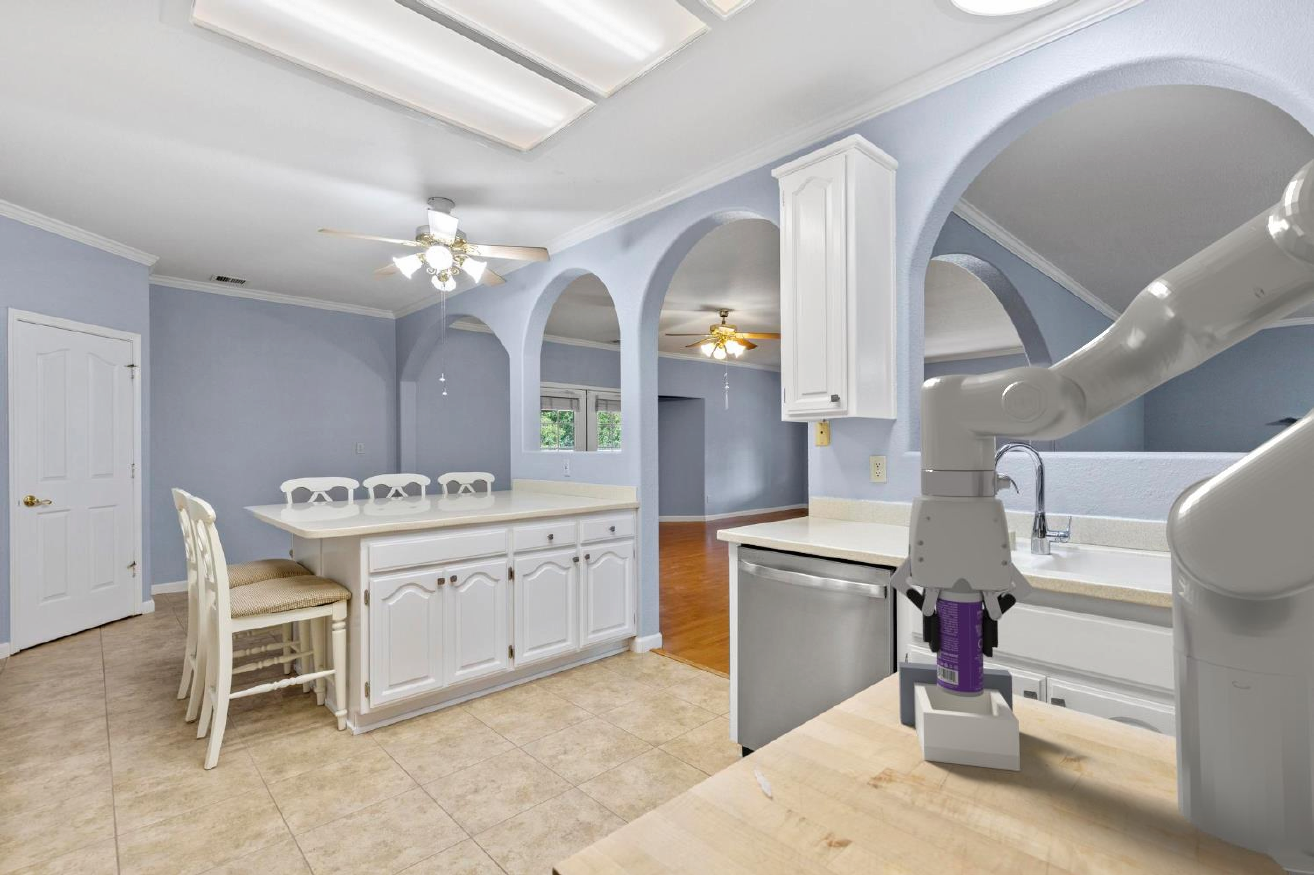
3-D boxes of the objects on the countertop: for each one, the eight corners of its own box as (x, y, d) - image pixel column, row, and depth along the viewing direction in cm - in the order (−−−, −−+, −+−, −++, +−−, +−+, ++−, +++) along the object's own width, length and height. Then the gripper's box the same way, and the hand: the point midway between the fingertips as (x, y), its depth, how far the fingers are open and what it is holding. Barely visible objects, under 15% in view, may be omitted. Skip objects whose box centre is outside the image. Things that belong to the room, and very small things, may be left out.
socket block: (998, 733, 73) (997, 689, 73) (1020, 771, 64) (1018, 721, 64) (914, 724, 75) (914, 682, 76) (924, 760, 67) (923, 712, 67)
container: (989, 698, 67) (987, 557, 68) (942, 695, 68) (940, 556, 69) (976, 683, 72) (974, 550, 72) (932, 680, 73) (931, 549, 73)
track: (1009, 738, 74) (1007, 670, 75) (1063, 831, 56) (1061, 740, 56) (900, 727, 78) (898, 661, 78) (918, 811, 60) (916, 725, 60)
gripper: (1033, 485, 72) (1035, 647, 72) (875, 484, 77) (876, 635, 76) (1054, 489, 65) (1057, 669, 64) (878, 487, 69) (880, 655, 69)
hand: (959, 649), depth 70 cm, fingers closed on container, 4 cm apart
